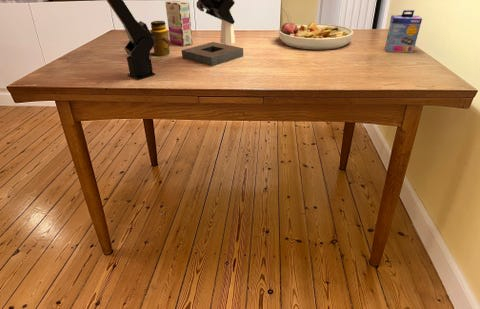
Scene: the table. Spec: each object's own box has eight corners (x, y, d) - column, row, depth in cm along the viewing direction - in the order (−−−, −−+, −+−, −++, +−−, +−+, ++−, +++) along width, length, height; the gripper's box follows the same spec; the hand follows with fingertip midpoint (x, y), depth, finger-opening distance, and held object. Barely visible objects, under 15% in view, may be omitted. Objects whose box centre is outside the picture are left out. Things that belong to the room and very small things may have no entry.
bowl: (344, 35, 152) (347, 16, 148) (357, 52, 127) (361, 30, 123) (278, 35, 155) (279, 16, 151) (278, 51, 130) (279, 30, 126)
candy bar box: (193, 44, 142) (189, 2, 133) (183, 46, 139) (178, 3, 131) (179, 40, 149) (174, 0, 141) (169, 42, 146) (164, 1, 138)
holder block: (212, 66, 114) (211, 57, 113) (182, 58, 124) (181, 50, 122) (243, 56, 124) (243, 48, 123) (213, 49, 134) (213, 41, 132)
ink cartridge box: (386, 52, 125) (394, 10, 118) (383, 48, 130) (391, 8, 122) (414, 53, 124) (424, 10, 116) (411, 49, 128) (420, 8, 121)
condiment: (174, 55, 128) (170, 22, 122) (153, 58, 124) (147, 24, 118) (166, 51, 134) (162, 19, 127) (146, 54, 130) (140, 22, 123)
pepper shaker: (238, 43, 116) (238, 8, 111) (224, 45, 114) (223, 10, 108) (230, 40, 120) (230, 7, 115) (217, 41, 118) (216, 8, 112)
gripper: (228, -33, 97) (259, 6, 107) (202, -35, 111) (232, 0, 121) (204, -2, 97) (238, 34, 108) (182, -8, 111) (213, 25, 122)
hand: (230, 22), depth 114 cm, fingers closed on pepper shaker, 4 cm apart
